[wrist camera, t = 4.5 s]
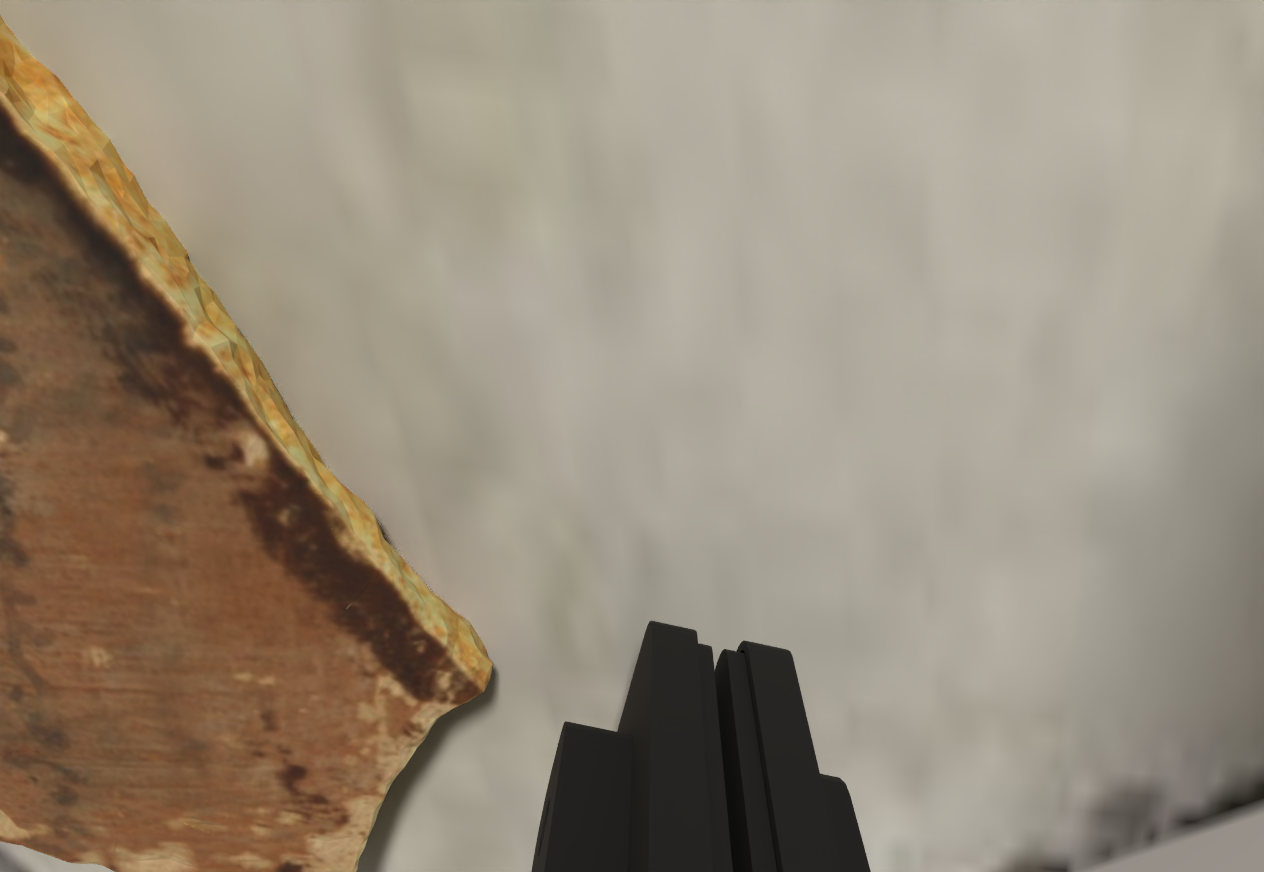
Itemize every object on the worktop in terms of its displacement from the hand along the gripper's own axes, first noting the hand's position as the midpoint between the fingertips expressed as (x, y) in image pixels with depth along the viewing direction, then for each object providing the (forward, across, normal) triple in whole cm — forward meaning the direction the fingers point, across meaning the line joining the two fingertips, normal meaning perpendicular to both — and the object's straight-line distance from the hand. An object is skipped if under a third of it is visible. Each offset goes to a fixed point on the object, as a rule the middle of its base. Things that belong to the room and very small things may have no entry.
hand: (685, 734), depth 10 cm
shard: (+2, +8, 0) cm, 8 cm away
